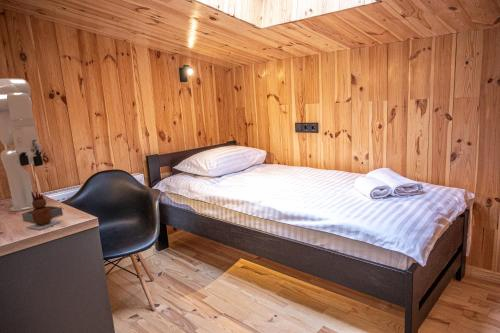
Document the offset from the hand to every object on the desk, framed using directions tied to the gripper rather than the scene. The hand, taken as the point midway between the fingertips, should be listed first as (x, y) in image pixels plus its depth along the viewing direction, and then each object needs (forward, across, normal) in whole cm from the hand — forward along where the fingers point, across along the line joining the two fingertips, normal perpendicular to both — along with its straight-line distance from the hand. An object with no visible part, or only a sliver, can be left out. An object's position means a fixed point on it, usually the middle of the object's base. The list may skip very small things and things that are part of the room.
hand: (31, 165), depth 134 cm
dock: (+26, -12, +7) cm, 30 cm away
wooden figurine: (+26, 0, 0) cm, 26 cm away
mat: (+26, 0, 0) cm, 26 cm away
